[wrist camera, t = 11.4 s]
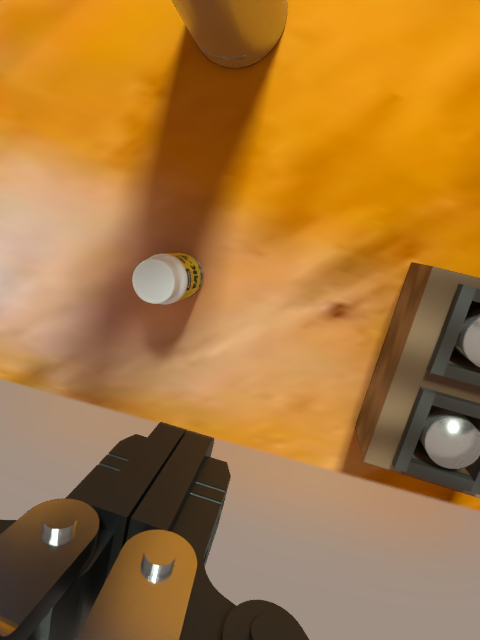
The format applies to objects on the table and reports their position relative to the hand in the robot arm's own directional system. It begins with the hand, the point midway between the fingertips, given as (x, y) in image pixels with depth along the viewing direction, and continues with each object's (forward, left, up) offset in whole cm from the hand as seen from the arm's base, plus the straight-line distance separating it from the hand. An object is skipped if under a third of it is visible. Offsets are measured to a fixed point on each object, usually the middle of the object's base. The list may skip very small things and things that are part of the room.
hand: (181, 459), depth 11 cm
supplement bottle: (0, -10, -32) cm, 34 cm away
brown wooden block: (+2, +18, -32) cm, 36 cm away
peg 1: (+7, +18, -30) cm, 36 cm away
